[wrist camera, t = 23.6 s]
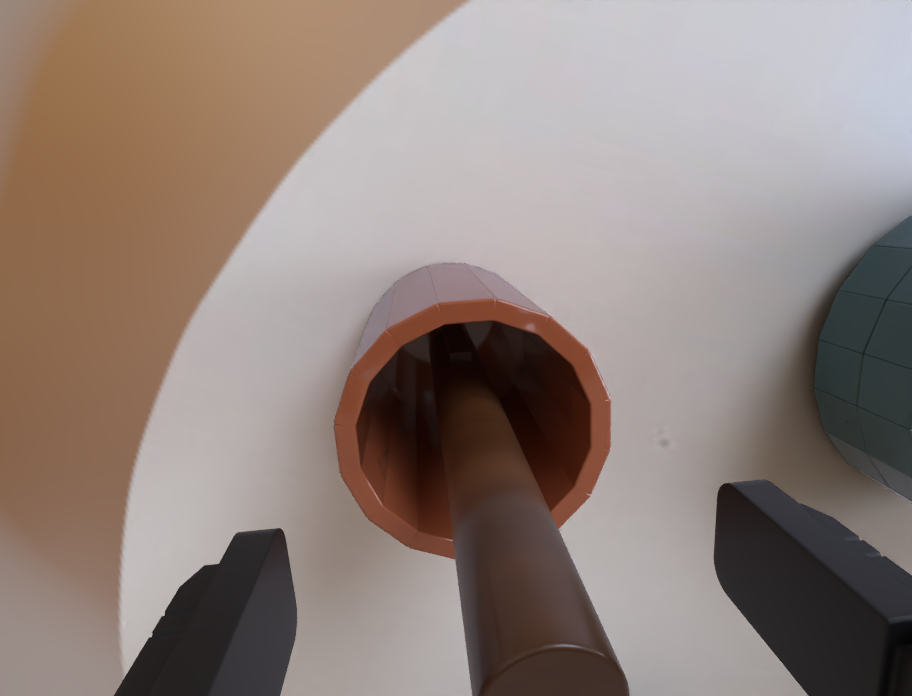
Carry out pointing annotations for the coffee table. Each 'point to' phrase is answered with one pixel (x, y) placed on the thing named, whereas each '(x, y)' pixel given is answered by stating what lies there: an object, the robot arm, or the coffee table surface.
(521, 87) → the coffee table surface
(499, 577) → the stick
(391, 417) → the crock
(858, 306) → the bowl
